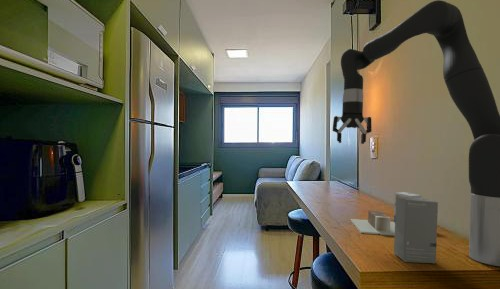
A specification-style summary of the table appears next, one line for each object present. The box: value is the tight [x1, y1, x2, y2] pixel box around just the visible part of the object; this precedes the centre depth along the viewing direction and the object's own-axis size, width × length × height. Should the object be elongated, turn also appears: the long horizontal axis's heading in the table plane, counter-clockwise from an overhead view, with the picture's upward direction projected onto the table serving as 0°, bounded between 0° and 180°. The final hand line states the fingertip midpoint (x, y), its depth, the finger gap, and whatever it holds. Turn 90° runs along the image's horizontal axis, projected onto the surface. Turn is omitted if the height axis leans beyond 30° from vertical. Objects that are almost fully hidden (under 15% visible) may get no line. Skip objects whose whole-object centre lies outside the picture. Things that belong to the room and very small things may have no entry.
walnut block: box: [367, 210, 391, 231], centre depth 109 cm, size 4×4×11 cm
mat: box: [349, 218, 395, 237], centre depth 109 cm, size 16×18×1 cm
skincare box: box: [393, 197, 439, 264], centre depth 79 cm, size 8×7×16 cm
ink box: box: [393, 191, 422, 223], centre depth 116 cm, size 8×5×12 cm, turn 17°
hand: (351, 143), depth 117 cm, fingers open, 8 cm apart
